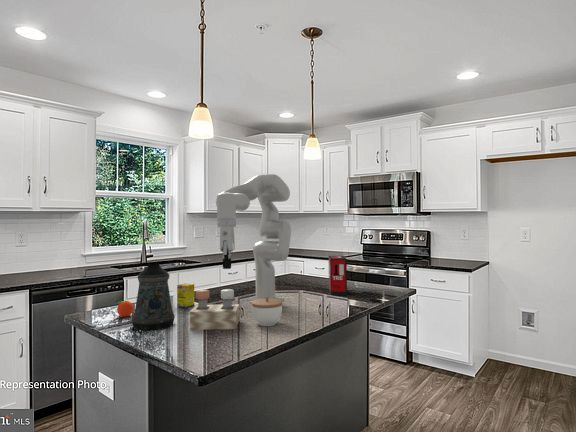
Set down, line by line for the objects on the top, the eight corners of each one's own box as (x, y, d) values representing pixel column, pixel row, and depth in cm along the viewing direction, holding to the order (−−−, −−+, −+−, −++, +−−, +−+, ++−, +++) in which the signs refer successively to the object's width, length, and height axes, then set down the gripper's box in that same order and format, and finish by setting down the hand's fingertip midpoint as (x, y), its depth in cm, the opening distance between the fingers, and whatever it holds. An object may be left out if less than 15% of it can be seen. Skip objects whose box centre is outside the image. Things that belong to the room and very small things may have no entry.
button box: (239, 320, 168) (238, 304, 168) (235, 329, 156) (235, 311, 156) (196, 321, 168) (196, 304, 168) (189, 329, 156) (189, 311, 156)
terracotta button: (210, 311, 164) (210, 289, 164) (208, 314, 159) (207, 291, 159) (197, 311, 164) (197, 289, 164) (195, 314, 159) (194, 292, 159)
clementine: (113, 319, 173) (113, 302, 173) (115, 315, 179) (115, 299, 179) (133, 317, 175) (132, 301, 175) (134, 314, 181) (134, 298, 181)
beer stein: (138, 334, 151) (137, 268, 151) (125, 323, 166) (124, 263, 166) (180, 326, 160) (180, 264, 160) (164, 316, 176) (164, 260, 176)
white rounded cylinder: (234, 311, 164) (234, 289, 164) (233, 314, 159) (233, 291, 159) (222, 311, 164) (221, 289, 164) (220, 314, 159) (219, 291, 159)
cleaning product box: (346, 295, 219) (346, 258, 219) (330, 295, 220) (330, 258, 220) (343, 289, 236) (343, 255, 236) (328, 289, 236) (328, 255, 236)
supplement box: (177, 307, 194) (176, 284, 194) (185, 304, 199) (185, 282, 199) (186, 308, 191) (186, 285, 191) (194, 305, 197) (194, 283, 197)
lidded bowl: (266, 318, 172) (266, 292, 172) (288, 323, 164) (288, 296, 164) (245, 324, 162) (245, 297, 162) (268, 330, 154) (268, 301, 154)
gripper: (233, 223, 154) (234, 271, 154) (237, 223, 169) (238, 266, 169) (214, 223, 154) (214, 271, 154) (220, 223, 169) (220, 266, 169)
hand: (227, 268), depth 162 cm, fingers closed
